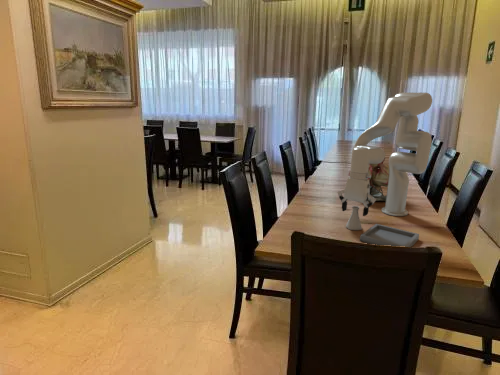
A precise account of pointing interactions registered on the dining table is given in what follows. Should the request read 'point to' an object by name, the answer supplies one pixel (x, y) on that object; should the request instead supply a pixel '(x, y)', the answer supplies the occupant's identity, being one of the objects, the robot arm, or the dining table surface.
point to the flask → (354, 220)
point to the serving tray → (389, 236)
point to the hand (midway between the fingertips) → (354, 213)
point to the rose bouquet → (378, 179)
